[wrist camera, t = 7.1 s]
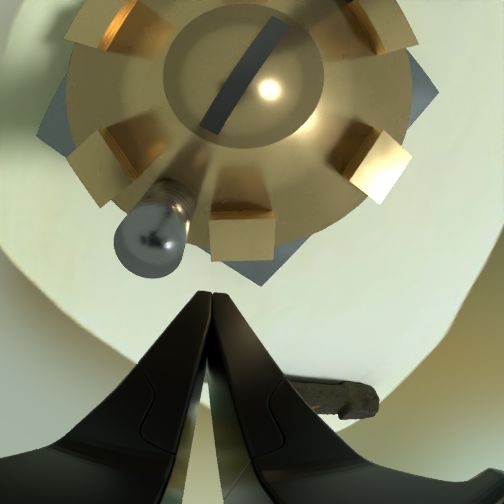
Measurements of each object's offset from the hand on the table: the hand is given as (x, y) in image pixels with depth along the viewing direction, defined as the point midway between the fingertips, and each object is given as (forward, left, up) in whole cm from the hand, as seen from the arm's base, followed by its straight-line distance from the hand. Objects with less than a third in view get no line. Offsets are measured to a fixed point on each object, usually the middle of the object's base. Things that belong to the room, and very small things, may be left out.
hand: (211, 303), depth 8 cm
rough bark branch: (+11, +20, -11) cm, 25 cm away
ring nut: (-6, -3, -9) cm, 11 cm away
